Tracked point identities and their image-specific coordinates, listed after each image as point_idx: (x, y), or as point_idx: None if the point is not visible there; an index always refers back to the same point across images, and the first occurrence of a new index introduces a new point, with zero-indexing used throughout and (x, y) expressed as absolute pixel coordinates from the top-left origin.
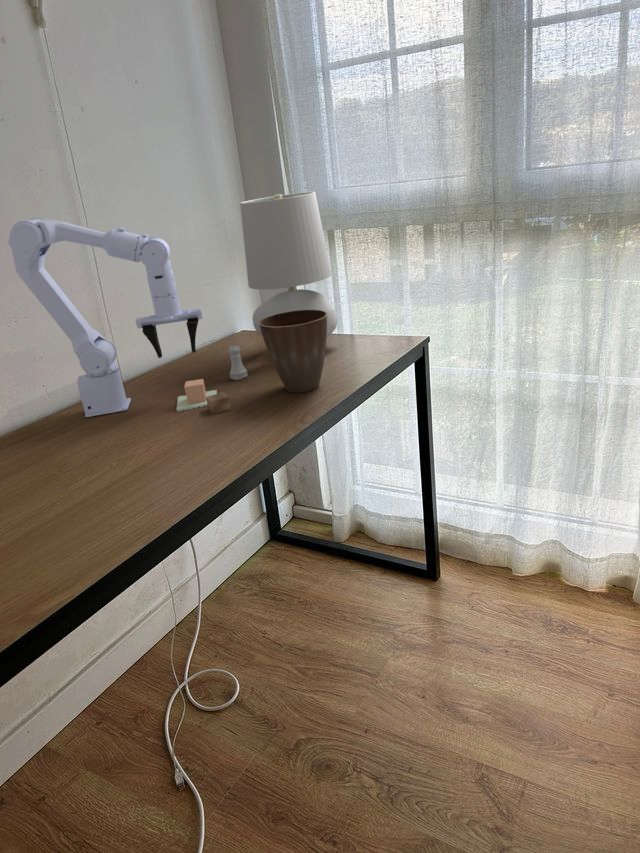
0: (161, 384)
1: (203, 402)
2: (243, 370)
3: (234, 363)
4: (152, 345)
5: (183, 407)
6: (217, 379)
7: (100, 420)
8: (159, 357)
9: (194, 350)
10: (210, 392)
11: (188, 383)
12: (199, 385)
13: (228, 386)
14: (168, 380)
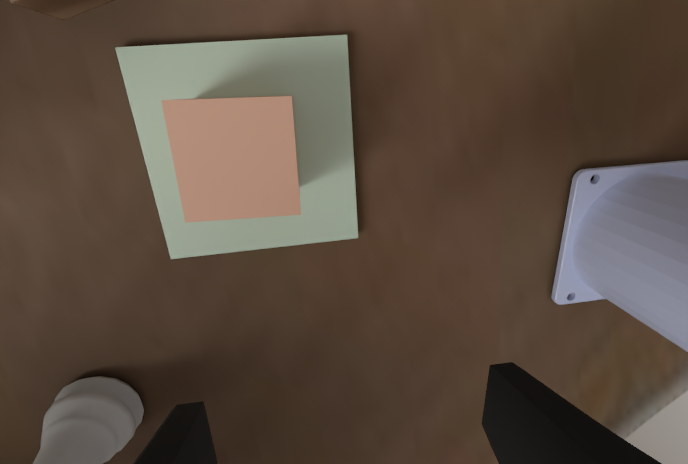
0: (438, 426)
1: (204, 80)
2: (48, 420)
3: (65, 454)
4: (655, 460)
5: (310, 48)
6: (210, 412)
7: (682, 95)
8: (507, 363)
9: (170, 417)
10: (196, 232)
11: (274, 166)
12: (186, 99)
13: (130, 310)
14: (414, 456)
